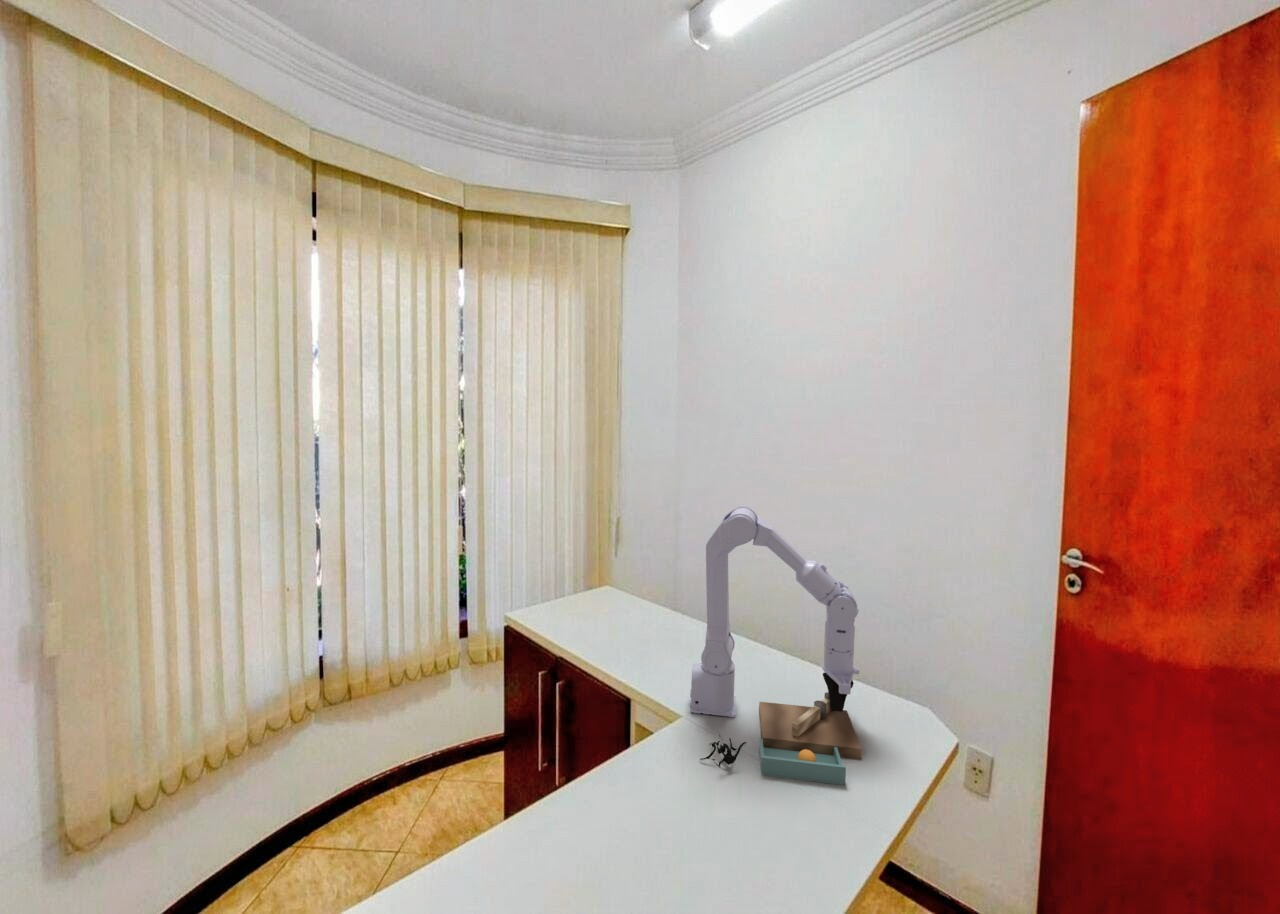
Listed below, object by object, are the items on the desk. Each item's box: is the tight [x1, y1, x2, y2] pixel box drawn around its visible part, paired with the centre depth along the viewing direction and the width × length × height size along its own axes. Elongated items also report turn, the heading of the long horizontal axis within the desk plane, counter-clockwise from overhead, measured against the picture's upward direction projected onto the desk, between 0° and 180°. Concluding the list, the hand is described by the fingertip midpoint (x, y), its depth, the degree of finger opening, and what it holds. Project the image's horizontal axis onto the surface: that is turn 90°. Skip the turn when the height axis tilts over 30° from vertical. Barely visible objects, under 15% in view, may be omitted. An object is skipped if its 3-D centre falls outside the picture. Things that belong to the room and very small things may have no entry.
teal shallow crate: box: [758, 737, 847, 786], centre depth 96 cm, size 14×8×3 cm, turn 80°
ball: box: [798, 749, 816, 762], centre depth 95 cm, size 3×3×3 cm
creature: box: [699, 733, 748, 768], centre depth 98 cm, size 8×5×8 cm
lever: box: [792, 691, 832, 737], centre depth 106 cm, size 15×2×3 cm, turn 134°
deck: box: [758, 701, 863, 760], centre depth 106 cm, size 18×13×2 cm
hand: (836, 710), depth 109 cm, fingers closed, pressing on lever
